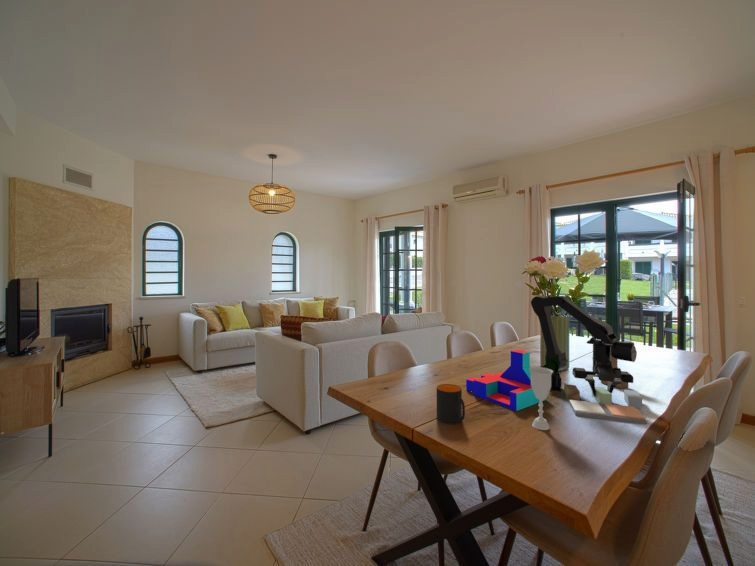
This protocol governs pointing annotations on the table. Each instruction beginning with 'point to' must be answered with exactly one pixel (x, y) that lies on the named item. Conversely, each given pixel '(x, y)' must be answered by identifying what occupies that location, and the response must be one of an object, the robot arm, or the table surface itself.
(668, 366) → the table surface
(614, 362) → the wooden block
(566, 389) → the walnut brick
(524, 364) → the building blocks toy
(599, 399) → the sage brick
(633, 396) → the slate brick
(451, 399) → the mug
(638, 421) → the tile board
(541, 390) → the chalice
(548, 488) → the table surface
